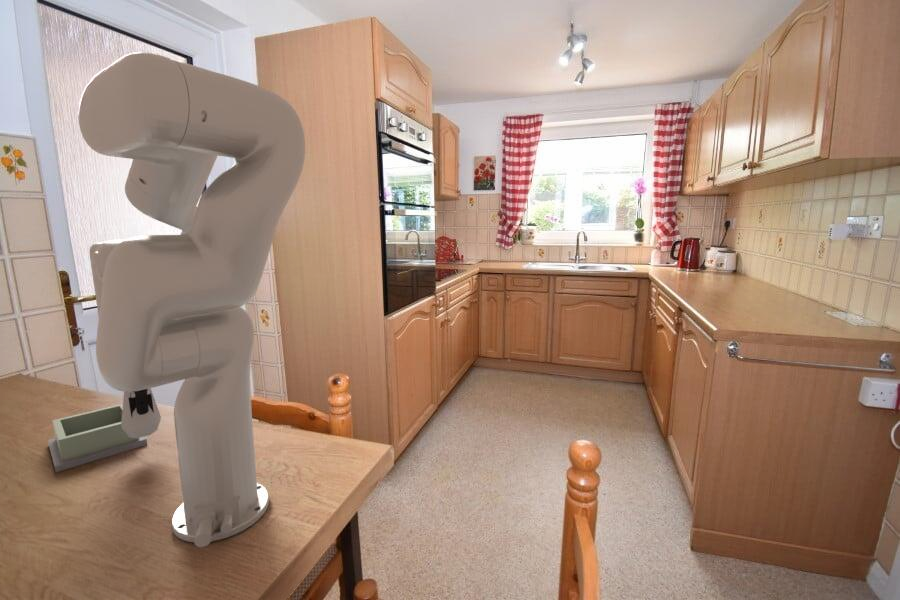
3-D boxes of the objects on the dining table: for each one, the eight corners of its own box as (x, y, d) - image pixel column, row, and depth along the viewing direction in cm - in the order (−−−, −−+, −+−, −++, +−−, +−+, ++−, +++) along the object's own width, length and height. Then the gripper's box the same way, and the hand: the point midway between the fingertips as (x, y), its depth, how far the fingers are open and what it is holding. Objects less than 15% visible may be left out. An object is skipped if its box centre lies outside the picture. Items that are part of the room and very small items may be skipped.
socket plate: (147, 444, 81) (144, 419, 80) (55, 472, 71) (51, 444, 71) (132, 423, 90) (129, 400, 89) (48, 445, 80) (44, 420, 79)
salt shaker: (141, 441, 72) (131, 369, 70) (114, 439, 73) (103, 367, 71) (170, 426, 78) (161, 359, 76) (144, 424, 79) (135, 358, 77)
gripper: (165, 315, 69) (177, 419, 72) (141, 306, 80) (153, 397, 83) (107, 322, 64) (123, 435, 67) (91, 311, 75) (105, 408, 78)
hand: (140, 413), depth 75 cm, fingers closed on salt shaker, 3 cm apart
